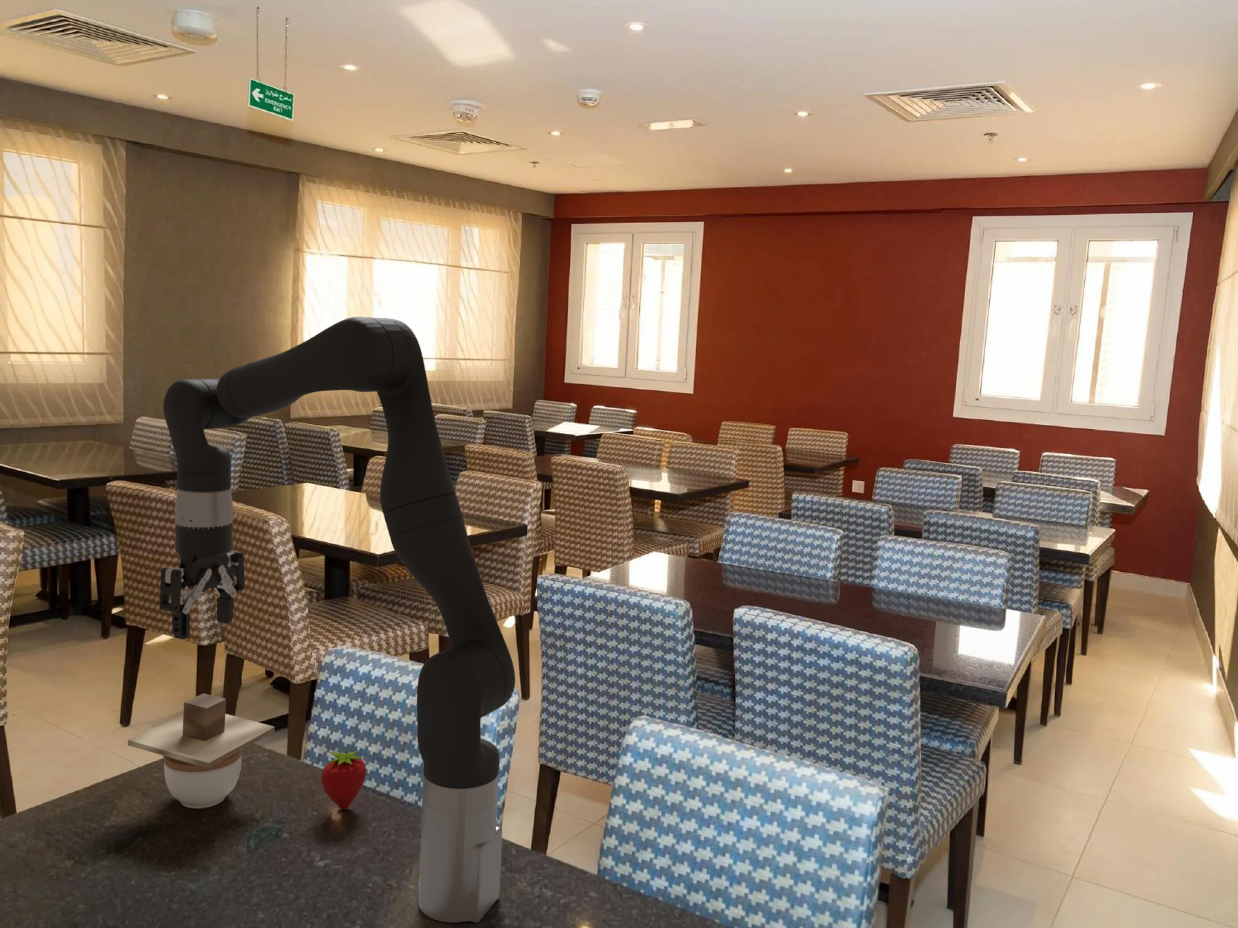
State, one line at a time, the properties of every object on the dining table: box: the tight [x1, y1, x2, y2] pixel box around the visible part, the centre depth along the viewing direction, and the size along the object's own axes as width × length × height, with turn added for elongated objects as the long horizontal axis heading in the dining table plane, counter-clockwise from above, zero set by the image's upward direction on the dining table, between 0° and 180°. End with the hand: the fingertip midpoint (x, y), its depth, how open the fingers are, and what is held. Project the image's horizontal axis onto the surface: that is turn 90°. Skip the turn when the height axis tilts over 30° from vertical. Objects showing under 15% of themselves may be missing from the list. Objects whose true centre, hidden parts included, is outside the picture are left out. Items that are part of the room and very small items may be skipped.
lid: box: [127, 693, 275, 768], centre depth 142 cm, size 14×14×6 cm
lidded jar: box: [162, 749, 244, 809], centre depth 143 cm, size 11×11×9 cm
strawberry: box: [320, 742, 367, 810], centre depth 142 cm, size 6×8×10 cm
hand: (203, 629), depth 140 cm, fingers open, 8 cm apart
